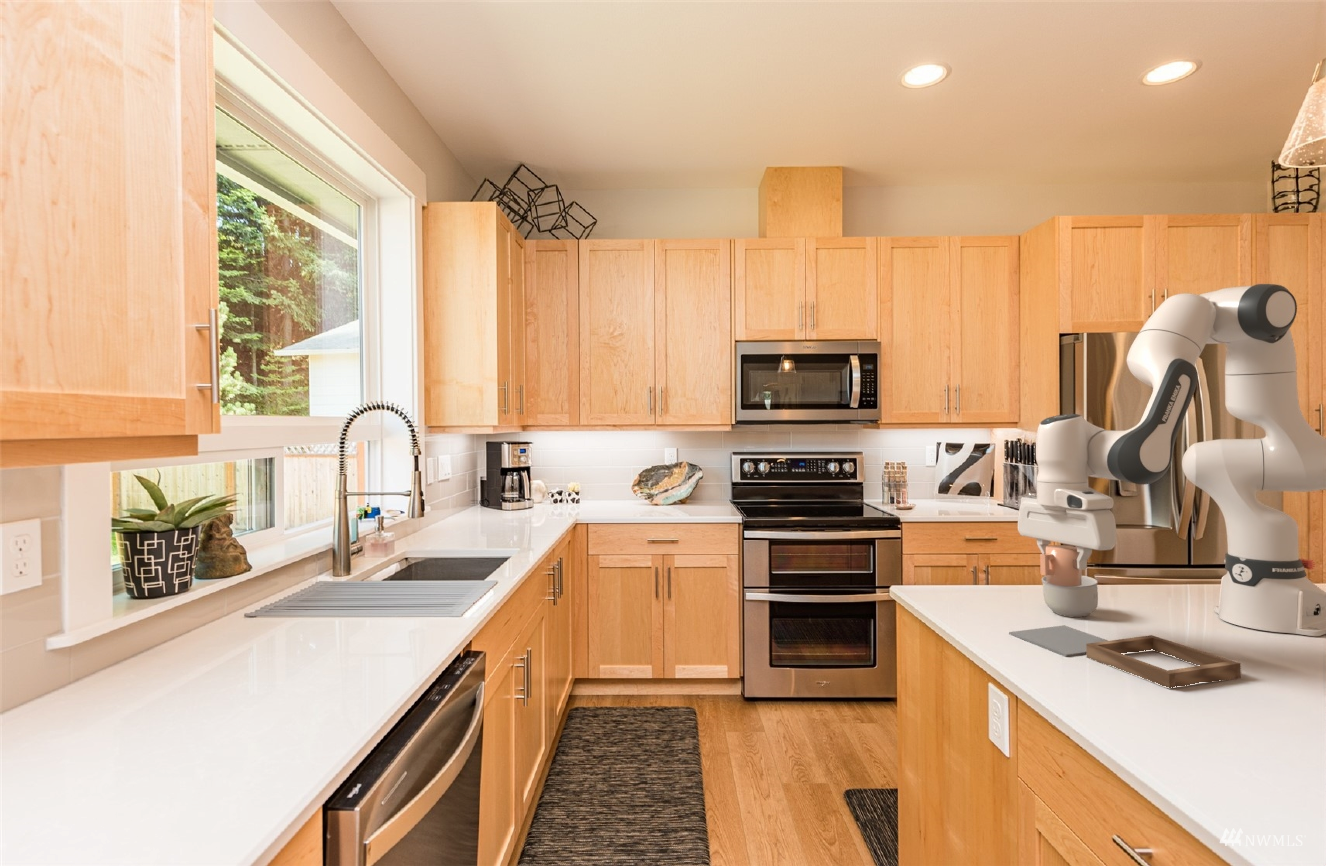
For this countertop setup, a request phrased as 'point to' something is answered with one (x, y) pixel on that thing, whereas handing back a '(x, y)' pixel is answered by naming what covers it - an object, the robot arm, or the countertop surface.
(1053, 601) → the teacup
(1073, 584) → the mug
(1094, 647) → the tray
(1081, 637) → the coaster
